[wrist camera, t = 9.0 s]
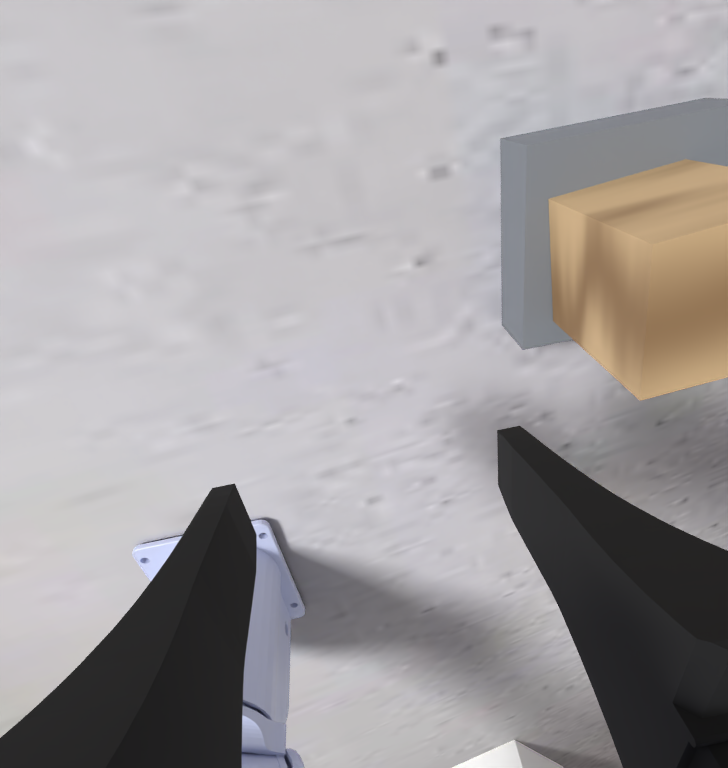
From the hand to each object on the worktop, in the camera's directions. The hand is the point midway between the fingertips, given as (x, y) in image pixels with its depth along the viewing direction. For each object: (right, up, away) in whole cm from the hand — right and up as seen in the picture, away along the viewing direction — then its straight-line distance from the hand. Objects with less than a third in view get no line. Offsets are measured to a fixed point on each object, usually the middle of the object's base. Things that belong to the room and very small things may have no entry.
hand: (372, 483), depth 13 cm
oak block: (+9, +8, +5) cm, 14 cm away
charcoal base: (+10, +10, +8) cm, 16 cm away
